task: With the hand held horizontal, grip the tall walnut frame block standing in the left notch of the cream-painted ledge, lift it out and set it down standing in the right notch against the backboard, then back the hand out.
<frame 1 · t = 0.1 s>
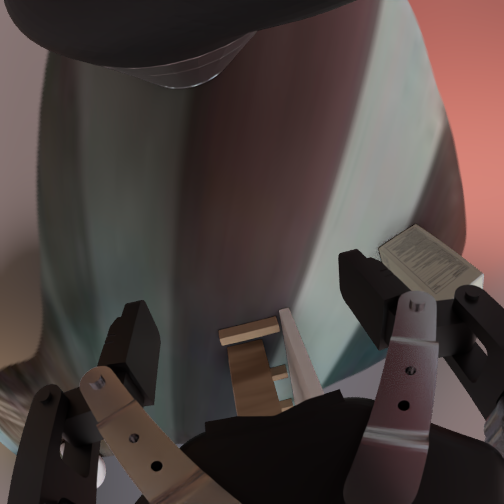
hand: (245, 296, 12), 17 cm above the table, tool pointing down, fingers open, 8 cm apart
pretzel: (79, 448, 48), on the table
frame block: (247, 354, 38), on the table
ledge: (257, 374, 41), on the table
skincare box: (400, 246, 34), on the table
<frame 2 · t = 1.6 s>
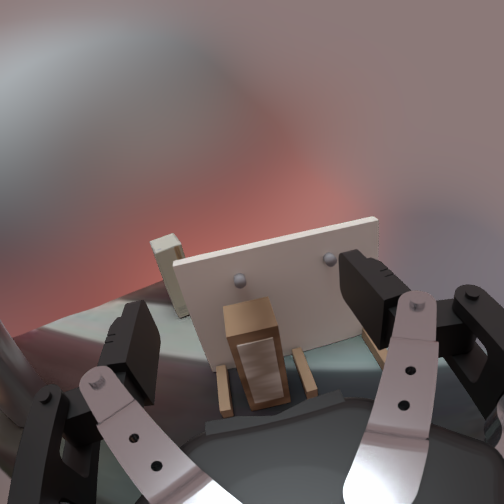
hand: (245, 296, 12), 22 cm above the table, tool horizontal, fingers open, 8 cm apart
frame block: (267, 391, 33), on the table
ledge: (305, 378, 33), on the table
skincare box: (186, 306, 51), on the table
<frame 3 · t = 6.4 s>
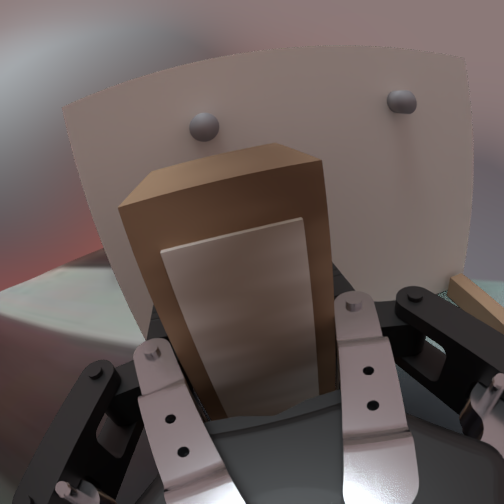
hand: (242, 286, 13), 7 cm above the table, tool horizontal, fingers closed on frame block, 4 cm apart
frame block: (276, 416, 13), on the table, touching gripper
ledge: (360, 382, 14), on the table
when the fingers open (7 cm above the table, at t = 11.7 s): frame block stays where it is, on the table.
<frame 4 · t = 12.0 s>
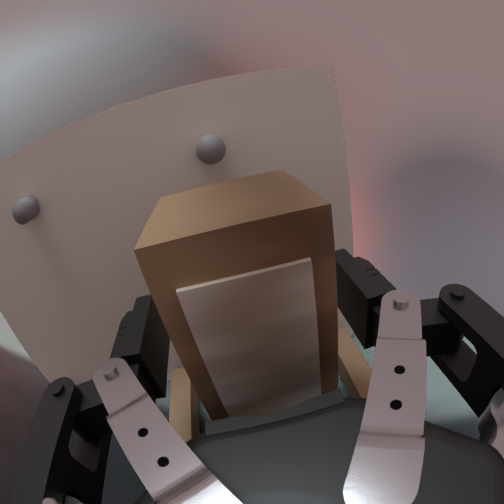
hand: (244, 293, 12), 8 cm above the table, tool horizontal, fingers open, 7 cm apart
frame block: (279, 426, 14), on the table
ledge: (189, 434, 14), on the table
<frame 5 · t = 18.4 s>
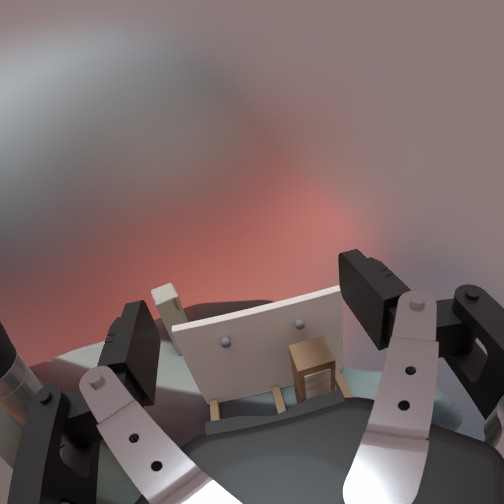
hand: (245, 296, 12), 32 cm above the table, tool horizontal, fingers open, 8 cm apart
frame block: (315, 406, 39), on the table
ledge: (281, 412, 40), on the table
skincare box: (184, 343, 58), on the table
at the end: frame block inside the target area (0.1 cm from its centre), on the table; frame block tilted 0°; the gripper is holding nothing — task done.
